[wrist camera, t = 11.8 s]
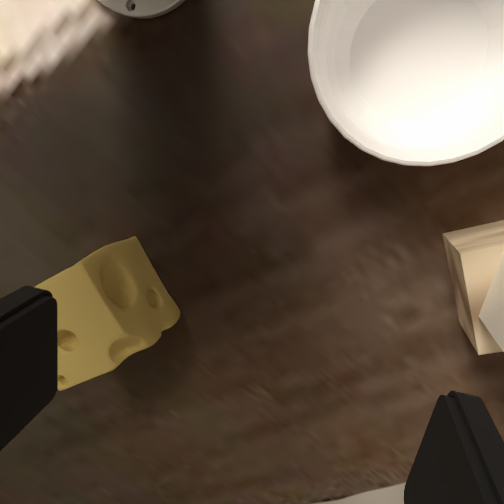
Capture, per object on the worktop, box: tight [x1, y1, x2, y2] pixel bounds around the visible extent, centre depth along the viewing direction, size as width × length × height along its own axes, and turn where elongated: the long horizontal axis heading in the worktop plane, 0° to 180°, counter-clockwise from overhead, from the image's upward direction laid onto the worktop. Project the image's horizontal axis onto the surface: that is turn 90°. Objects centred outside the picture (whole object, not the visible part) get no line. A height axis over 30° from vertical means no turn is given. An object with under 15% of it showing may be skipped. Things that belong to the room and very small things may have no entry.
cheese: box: [35, 236, 181, 391], centre depth 41 cm, size 10×11×10 cm
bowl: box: [308, 0, 504, 166], centre depth 30 cm, size 16×16×8 cm
